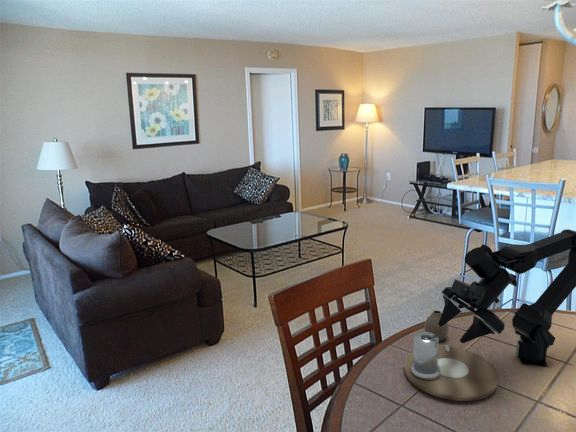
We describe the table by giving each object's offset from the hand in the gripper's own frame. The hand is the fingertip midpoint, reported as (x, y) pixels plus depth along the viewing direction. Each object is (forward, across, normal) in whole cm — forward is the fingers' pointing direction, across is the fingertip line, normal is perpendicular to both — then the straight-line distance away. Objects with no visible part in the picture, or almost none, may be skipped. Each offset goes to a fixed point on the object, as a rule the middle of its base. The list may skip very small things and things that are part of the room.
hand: (449, 333), depth 114 cm
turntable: (+8, 0, +9) cm, 13 cm away
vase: (+3, -19, +15) cm, 24 cm away
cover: (+12, 0, +2) cm, 12 cm away
